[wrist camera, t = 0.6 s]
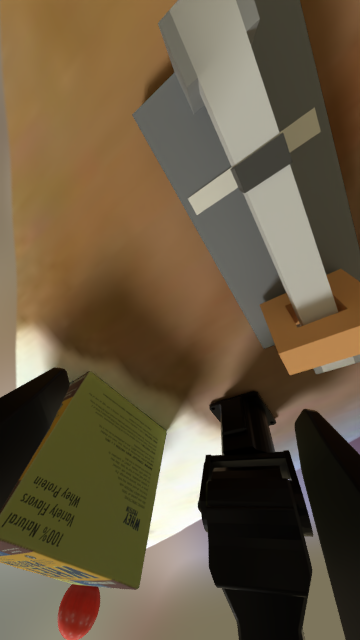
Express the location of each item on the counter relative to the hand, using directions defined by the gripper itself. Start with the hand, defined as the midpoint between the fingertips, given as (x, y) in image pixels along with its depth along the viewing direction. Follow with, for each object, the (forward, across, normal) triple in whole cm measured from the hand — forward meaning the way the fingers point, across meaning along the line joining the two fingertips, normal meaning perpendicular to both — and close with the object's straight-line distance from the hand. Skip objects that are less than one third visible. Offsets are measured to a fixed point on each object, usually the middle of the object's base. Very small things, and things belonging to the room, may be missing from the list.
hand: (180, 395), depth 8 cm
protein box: (+14, +10, +23) cm, 29 cm away
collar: (+11, -8, 0) cm, 14 cm away
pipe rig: (+13, -4, -5) cm, 14 cm away
